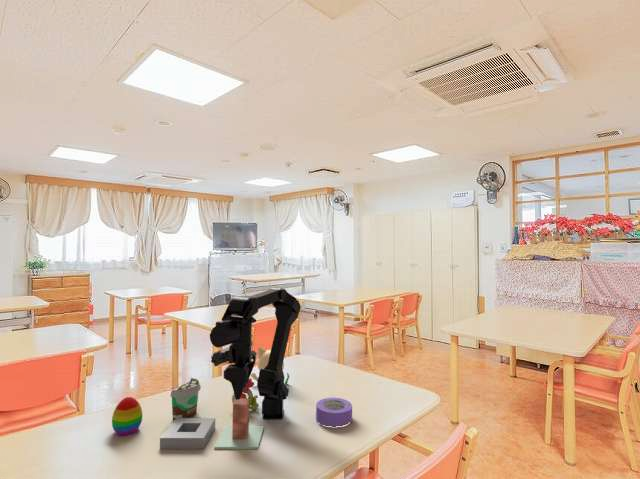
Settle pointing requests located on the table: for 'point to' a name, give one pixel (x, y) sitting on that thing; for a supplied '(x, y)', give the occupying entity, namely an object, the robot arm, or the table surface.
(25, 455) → the table surface
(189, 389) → the food container
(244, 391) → the bird rattle
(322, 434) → the table surface
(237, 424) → the peg
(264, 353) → the kitten
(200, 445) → the pocket block
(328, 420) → the tape roll
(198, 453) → the table surface
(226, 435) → the board
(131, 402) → the decorative egg
